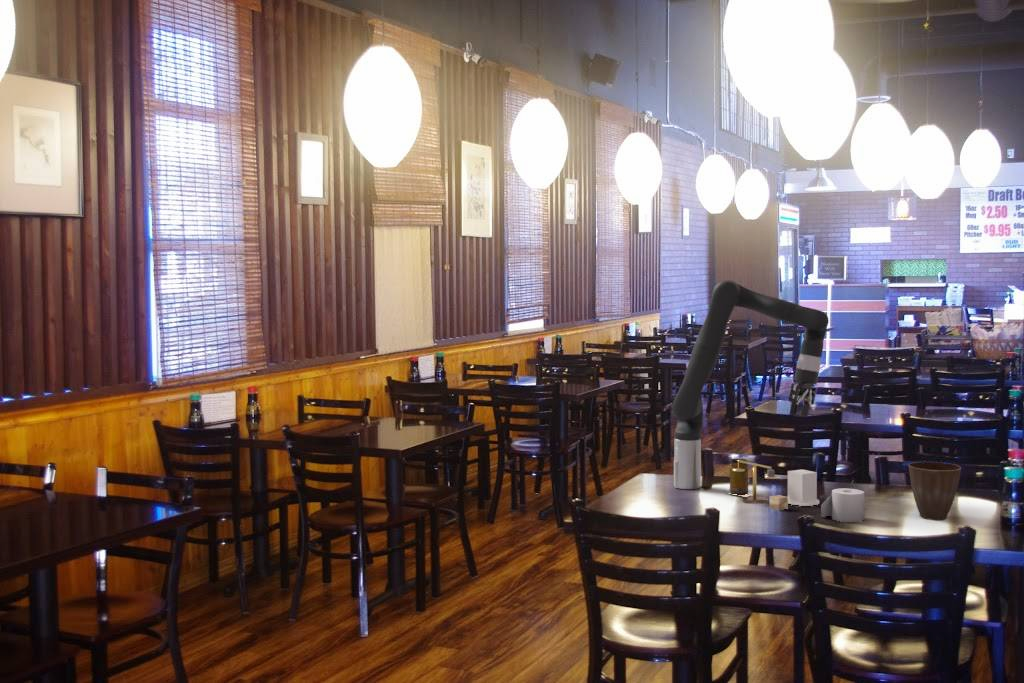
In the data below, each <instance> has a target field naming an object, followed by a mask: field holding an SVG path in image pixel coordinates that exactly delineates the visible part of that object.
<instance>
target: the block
mask: <svg viewBox="0 0 1024 683" xmlns="http://www.w3.org/2000/svg"><path fill="white" fill-rule="evenodd" d="M770 508H771V509H770ZM769 509H770V510H774V509H775V510H774V511H778V510H781V511H785V510H784V509H787V510H788V509H789V505H788V497H787V496H785V495H784V496H783V495H779V494H777V495H769Z"/></svg>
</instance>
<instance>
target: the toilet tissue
mask: <svg viewBox="0 0 1024 683" xmlns="http://www.w3.org/2000/svg"><path fill="white" fill-rule="evenodd" d="M820 512H821V513H820V514H821V515H820V516H821V518H822V517H823V518H827V517H826V516H831V519H832V520H833V521H835V520H836V522H839V521H840V523H847V522H858V523H861V522H860V521H862V520H864V521H865V491H863V490H861V489H856V488H849V487H848V488H846V487H845V488H834V489H832V490H831V494H830V495H829V496H828V497H827V498H826V500H824V501H823V503H822V504H820ZM862 522H863V521H862Z"/></svg>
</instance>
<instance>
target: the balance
mask: <svg viewBox="0 0 1024 683" xmlns="http://www.w3.org/2000/svg"><path fill="white" fill-rule="evenodd" d="M739 462H741V463H745V464H747V465H750V466H751V465H752V494H753V496H749V497H742V496H741V497H740V500H741V499H742V500H741V501H743V502H759V503H758V504H768V503H769V499H768V498H767V497H766V496H757V495H756V494H757V469H758V468H757V467H760V468H764V469H767V471H766V472H767V473H766V474H765V475H764V478H765V479H769V480H770V479H771V480H773V479H774V480H775V479H778V475H776V474H775V470H774V469H772V466H768V465H764V464H759V463H755V462H749V461H747V462H746V461H742V460H738V468H733V469H732V471H735V472H744V471H745V469H742V468H739ZM743 502H742V503H743ZM760 502H761V503H760Z"/></svg>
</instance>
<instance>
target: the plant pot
mask: <svg viewBox="0 0 1024 683" xmlns="http://www.w3.org/2000/svg"><path fill="white" fill-rule="evenodd" d="M961 471H962V466H960V465H957V464H954V463H949V462H941V461H940V462H939V461H914V462H910V463H908V473H909V479H910V485H911V489H912V493H913V494H912V495H913V498H914V502H915V505H916V508H917V510H918V513H919V516H920V517H921V518H923V519H926V520H933V521H944V520H947V517H948V515H949V513H950V511H951V508H952V505H953V503H954V500H955V497H956V494H957V491H958V490H957V489H958V487H959V482H960V477H961Z"/></svg>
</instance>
